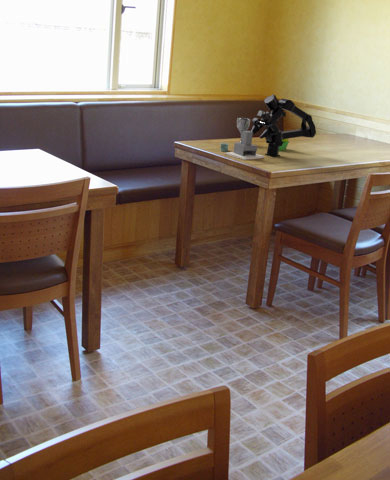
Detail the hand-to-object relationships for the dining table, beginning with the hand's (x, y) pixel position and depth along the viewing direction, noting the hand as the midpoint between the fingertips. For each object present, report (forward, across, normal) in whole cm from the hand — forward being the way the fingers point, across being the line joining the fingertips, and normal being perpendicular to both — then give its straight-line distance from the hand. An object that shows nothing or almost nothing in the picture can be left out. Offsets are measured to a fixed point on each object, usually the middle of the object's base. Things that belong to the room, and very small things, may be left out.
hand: (255, 136), depth 333 cm
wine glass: (-3, -33, +18) cm, 38 cm away
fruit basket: (-14, -15, +30) cm, 36 cm away
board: (+12, 0, +4) cm, 12 cm away
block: (+14, -14, +1) cm, 20 cm away
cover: (+11, 0, +3) cm, 11 cm away
